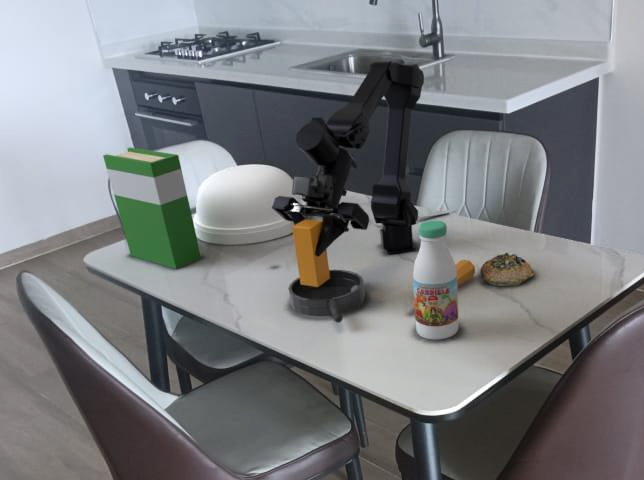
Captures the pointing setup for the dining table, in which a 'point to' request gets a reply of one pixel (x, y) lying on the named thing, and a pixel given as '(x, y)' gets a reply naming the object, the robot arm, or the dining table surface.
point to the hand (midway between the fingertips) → (307, 254)
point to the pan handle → (335, 310)
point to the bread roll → (506, 270)
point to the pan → (328, 294)
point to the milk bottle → (435, 284)
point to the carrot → (464, 271)
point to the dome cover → (242, 205)
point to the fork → (429, 215)
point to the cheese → (310, 253)
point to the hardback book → (153, 206)
